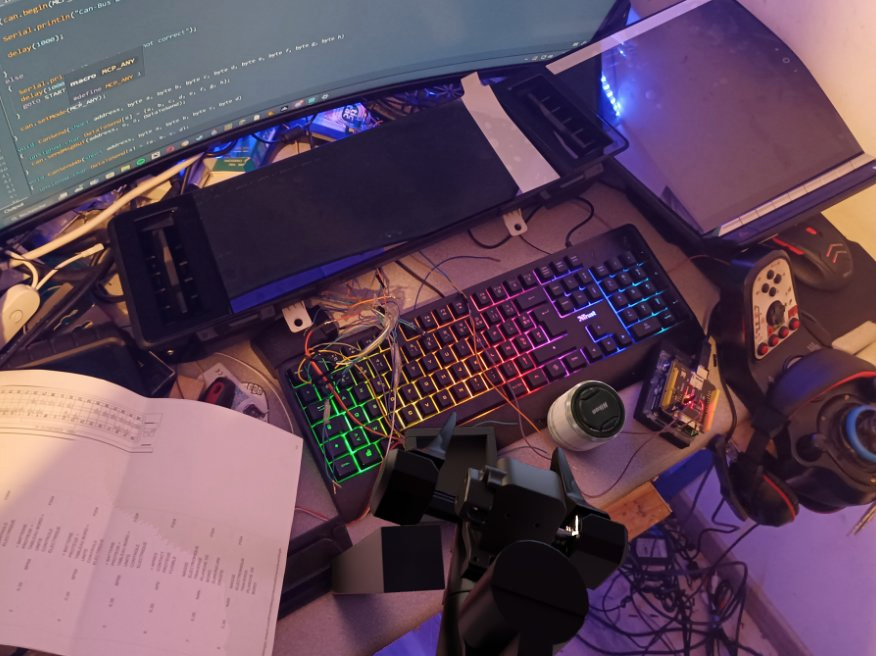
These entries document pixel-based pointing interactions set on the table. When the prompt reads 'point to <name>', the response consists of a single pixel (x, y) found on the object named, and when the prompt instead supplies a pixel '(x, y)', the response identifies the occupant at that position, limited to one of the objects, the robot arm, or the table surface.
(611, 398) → the camera lens
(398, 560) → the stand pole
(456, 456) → the black square open tray
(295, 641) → the table surface
